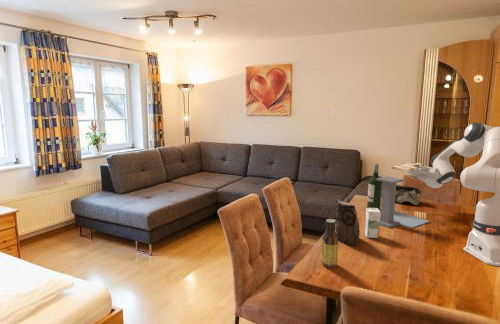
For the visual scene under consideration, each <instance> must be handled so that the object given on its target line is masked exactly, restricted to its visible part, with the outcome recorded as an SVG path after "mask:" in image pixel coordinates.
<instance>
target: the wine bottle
mask: <svg viewBox="0 0 500 324" xmlns="http://www.w3.org/2000/svg"><path fill="white" fill-rule="evenodd" d="M379 166H380V164H379V163H376V162H374V164H373V173H372V176H371V177H370V178H369V179H368V184H367V185H368V187H367V203H366V204H367V205H366V208H378V209H379V211H381V202H382V191H381V189H382V185H383V181H378V180H376V178H380V177H379Z"/></svg>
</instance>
